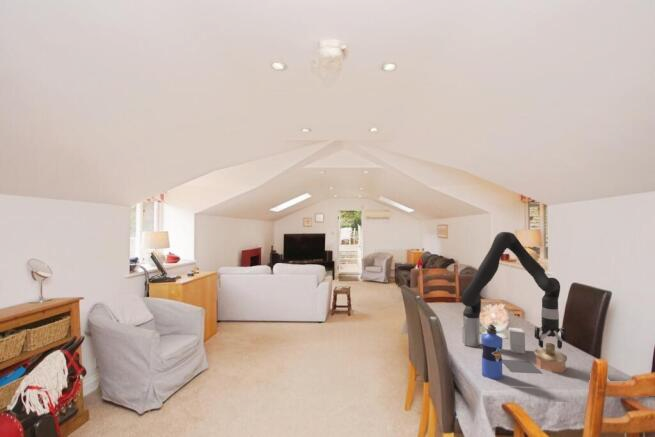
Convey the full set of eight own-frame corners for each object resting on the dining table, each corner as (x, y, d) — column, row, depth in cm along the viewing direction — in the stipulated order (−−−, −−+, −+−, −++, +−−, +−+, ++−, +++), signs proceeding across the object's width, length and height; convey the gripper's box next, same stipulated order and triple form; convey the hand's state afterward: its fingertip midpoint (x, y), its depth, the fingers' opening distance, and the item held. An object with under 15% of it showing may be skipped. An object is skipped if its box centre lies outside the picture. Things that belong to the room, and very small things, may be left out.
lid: (542, 361, 165) (542, 349, 165) (529, 350, 179) (529, 339, 179) (573, 362, 163) (572, 350, 163) (557, 351, 177) (557, 340, 177)
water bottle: (477, 373, 165) (477, 323, 166) (490, 370, 169) (490, 321, 169) (493, 381, 157) (493, 329, 157) (507, 378, 161) (506, 326, 161)
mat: (510, 372, 166) (510, 371, 166) (499, 360, 181) (499, 359, 181) (543, 374, 164) (543, 373, 164) (529, 361, 179) (529, 360, 179)
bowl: (544, 372, 166) (543, 360, 166) (532, 362, 178) (532, 351, 178) (569, 373, 165) (569, 361, 165) (556, 363, 176) (556, 352, 176)
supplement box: (522, 349, 195) (522, 328, 196) (525, 354, 188) (525, 332, 188) (508, 348, 198) (508, 327, 198) (510, 352, 191) (510, 331, 191)
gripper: (538, 318, 169) (539, 349, 169) (569, 319, 167) (569, 351, 167) (531, 314, 176) (532, 344, 176) (560, 314, 174) (561, 345, 174)
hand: (550, 347), depth 171 cm, fingers open, 8 cm apart
